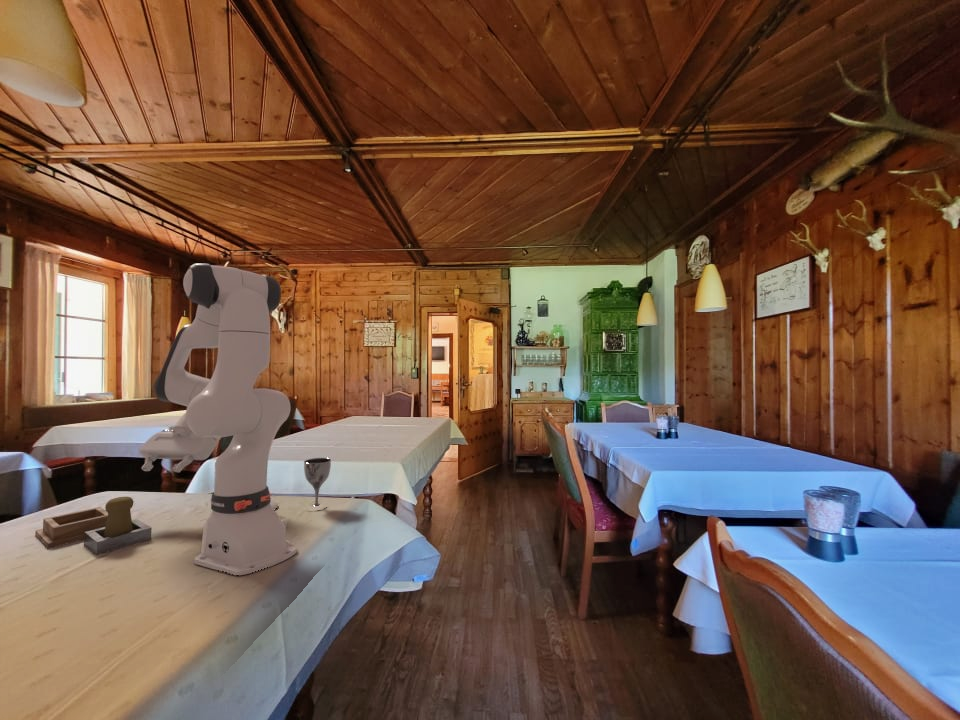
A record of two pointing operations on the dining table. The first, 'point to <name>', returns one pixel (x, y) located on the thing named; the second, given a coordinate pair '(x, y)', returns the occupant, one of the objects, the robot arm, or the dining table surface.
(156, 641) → the dining table surface
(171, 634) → the dining table surface
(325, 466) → the wine glass
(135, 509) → the dining table surface
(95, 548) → the socket block
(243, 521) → the robot arm
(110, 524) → the cork
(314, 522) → the dining table surface
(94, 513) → the walnut rack
